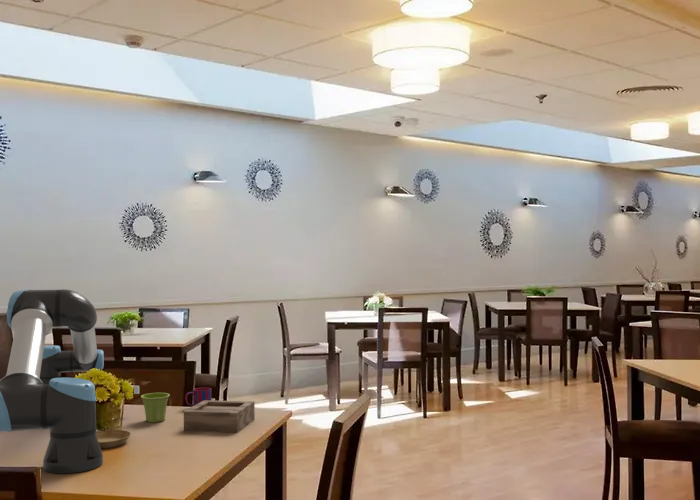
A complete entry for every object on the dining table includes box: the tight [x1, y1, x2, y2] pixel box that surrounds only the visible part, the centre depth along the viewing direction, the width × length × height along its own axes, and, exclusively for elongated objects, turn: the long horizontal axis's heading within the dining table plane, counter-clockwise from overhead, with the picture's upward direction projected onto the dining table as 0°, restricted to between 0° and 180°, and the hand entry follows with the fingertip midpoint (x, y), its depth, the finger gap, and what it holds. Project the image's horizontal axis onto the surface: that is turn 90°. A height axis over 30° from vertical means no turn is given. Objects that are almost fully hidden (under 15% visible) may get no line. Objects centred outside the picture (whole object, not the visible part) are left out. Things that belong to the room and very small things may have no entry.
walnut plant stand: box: [183, 399, 256, 433], centre depth 245 cm, size 18×18×6 cm
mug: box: [184, 387, 212, 407], centre depth 272 cm, size 7×10×7 cm
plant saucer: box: [96, 429, 132, 449], centre depth 222 cm, size 15×15×3 cm
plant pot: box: [140, 392, 171, 423], centre depth 252 cm, size 9×9×9 cm
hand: (129, 393), depth 254 cm, fingers open, 13 cm apart
